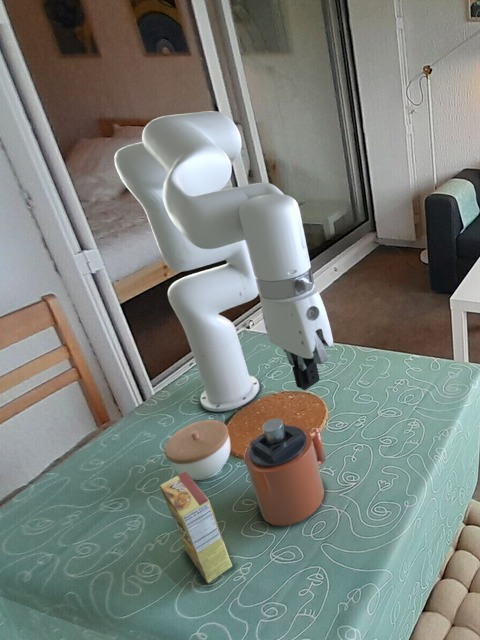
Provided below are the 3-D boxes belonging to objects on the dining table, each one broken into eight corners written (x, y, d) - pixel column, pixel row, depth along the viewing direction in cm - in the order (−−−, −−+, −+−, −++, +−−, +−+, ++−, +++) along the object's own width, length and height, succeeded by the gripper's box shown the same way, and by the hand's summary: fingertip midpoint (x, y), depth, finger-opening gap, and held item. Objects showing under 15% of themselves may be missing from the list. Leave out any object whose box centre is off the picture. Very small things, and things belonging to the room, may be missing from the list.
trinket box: (169, 495, 93) (153, 458, 89) (184, 454, 103) (170, 418, 98) (231, 482, 96) (218, 446, 92) (241, 443, 105) (230, 408, 101)
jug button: (262, 440, 85) (258, 427, 84) (278, 429, 87) (274, 415, 86) (274, 447, 84) (270, 434, 82) (290, 435, 86) (286, 422, 85)
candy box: (185, 551, 83) (156, 486, 76) (211, 534, 86) (186, 469, 79) (208, 585, 78) (179, 518, 71) (235, 565, 81) (210, 499, 74)
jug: (248, 508, 91) (227, 446, 84) (308, 459, 101) (294, 400, 94) (287, 536, 85) (268, 473, 79) (347, 481, 96) (335, 421, 89)
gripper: (341, 283, 71) (359, 386, 79) (274, 261, 78) (297, 358, 86) (298, 305, 65) (322, 414, 74) (230, 280, 73) (258, 381, 81)
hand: (308, 383), depth 80 cm, fingers closed
